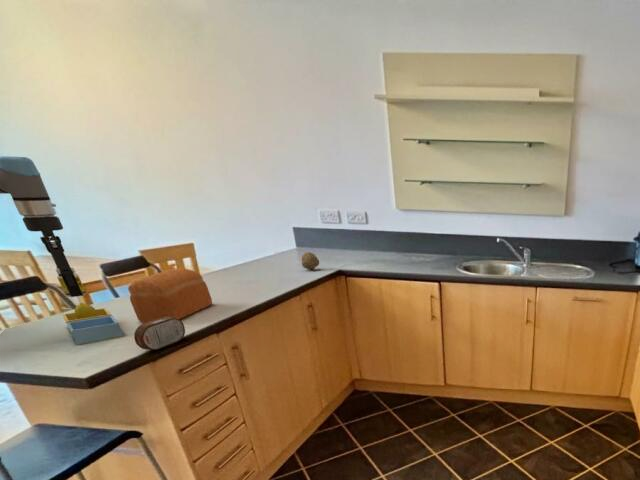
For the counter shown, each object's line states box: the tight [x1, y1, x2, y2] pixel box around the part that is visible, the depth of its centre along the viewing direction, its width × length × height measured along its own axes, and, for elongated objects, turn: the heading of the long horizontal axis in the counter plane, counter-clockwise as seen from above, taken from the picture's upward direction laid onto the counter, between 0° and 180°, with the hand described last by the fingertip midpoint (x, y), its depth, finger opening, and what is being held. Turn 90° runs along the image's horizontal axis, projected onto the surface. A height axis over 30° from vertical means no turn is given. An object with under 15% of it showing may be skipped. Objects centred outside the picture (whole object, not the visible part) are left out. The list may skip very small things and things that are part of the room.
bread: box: [127, 268, 213, 323], centre depth 159 cm, size 14×26×16 cm, turn 2°
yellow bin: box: [61, 307, 113, 324], centre depth 145 cm, size 11×11×5 cm
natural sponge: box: [301, 251, 320, 271], centre depth 236 cm, size 9×9×10 cm
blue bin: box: [66, 315, 125, 345], centre depth 137 cm, size 11×11×5 cm
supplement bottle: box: [55, 266, 87, 298], centre depth 130 cm, size 5×5×8 cm
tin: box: [133, 317, 186, 351], centre depth 130 cm, size 15×3×8 cm, turn 171°
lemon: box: [74, 302, 98, 319], centre depth 144 cm, size 6×6×8 cm
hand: (76, 294), depth 132 cm, fingers closed on supplement bottle, 5 cm apart
